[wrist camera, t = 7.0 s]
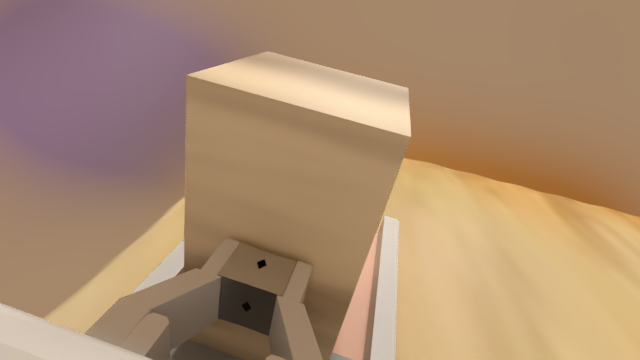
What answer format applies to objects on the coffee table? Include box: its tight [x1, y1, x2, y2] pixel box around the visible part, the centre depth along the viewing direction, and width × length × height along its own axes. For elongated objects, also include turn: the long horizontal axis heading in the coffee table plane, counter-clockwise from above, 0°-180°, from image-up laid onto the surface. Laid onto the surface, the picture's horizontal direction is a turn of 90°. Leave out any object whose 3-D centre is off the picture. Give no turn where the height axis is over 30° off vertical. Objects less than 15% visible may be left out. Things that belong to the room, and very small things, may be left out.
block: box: [184, 52, 411, 360], centre depth 14 cm, size 6×6×11 cm
